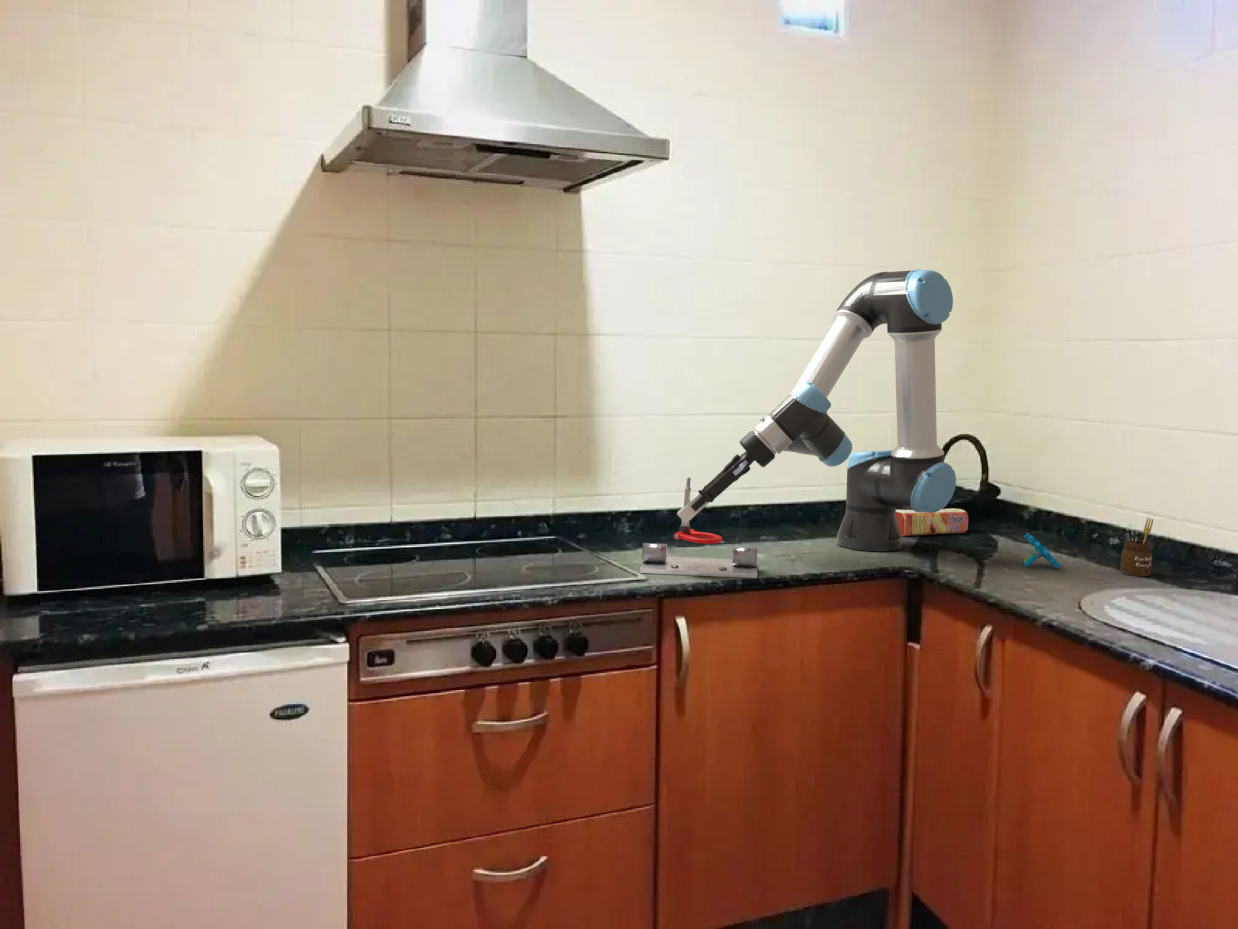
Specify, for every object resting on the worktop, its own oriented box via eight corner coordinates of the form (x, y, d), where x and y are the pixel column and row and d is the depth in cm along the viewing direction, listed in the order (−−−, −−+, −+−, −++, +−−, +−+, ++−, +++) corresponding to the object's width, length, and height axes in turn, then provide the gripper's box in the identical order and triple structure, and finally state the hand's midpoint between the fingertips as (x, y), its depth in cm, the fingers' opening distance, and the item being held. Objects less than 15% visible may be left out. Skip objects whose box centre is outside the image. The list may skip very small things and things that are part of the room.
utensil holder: (1113, 572, 224) (1118, 517, 222) (1134, 570, 226) (1138, 516, 225) (1136, 577, 218) (1141, 522, 217) (1157, 575, 221) (1162, 520, 219)
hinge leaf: (644, 560, 225) (645, 537, 225) (755, 564, 223) (756, 542, 222) (640, 573, 212) (640, 549, 212) (757, 578, 210) (758, 554, 209)
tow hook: (729, 542, 216) (691, 535, 221) (733, 481, 214) (695, 475, 219) (708, 547, 209) (670, 539, 214) (713, 484, 207) (674, 478, 212)
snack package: (953, 530, 273) (954, 504, 272) (970, 534, 267) (971, 508, 266) (886, 533, 265) (888, 508, 264) (902, 538, 259) (904, 512, 258)
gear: (1066, 566, 220) (1033, 531, 222) (1045, 584, 221) (1012, 549, 223) (1057, 563, 231) (1025, 529, 233) (1036, 580, 232) (1005, 547, 234)
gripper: (751, 426, 220) (671, 500, 224) (753, 431, 206) (667, 510, 209) (775, 452, 220) (694, 525, 224) (779, 459, 206) (692, 537, 209)
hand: (681, 517), depth 217 cm, fingers closed on tow hook, 1 cm apart
